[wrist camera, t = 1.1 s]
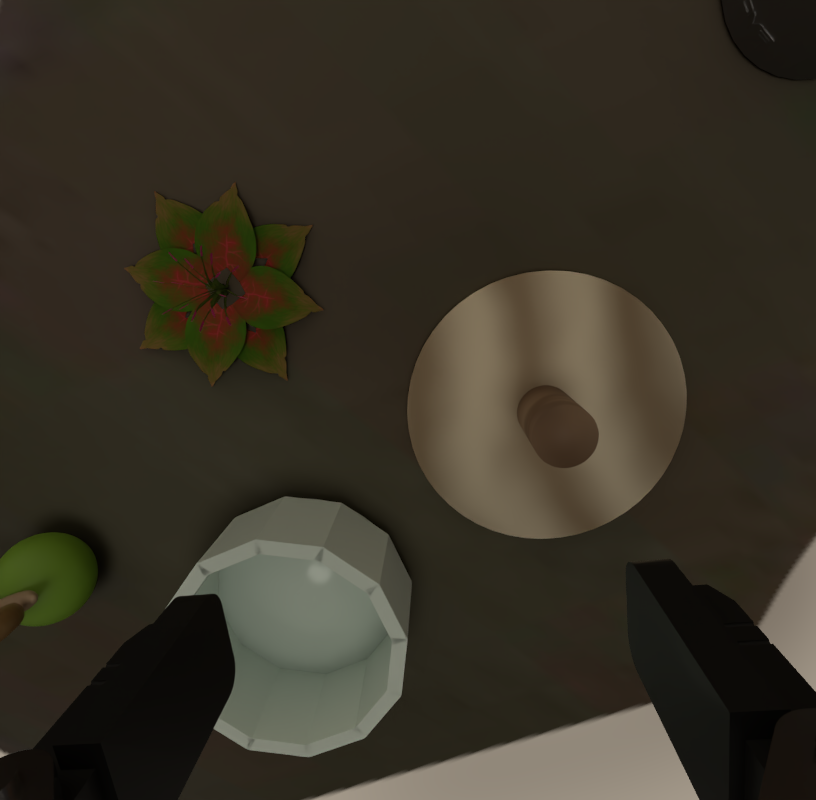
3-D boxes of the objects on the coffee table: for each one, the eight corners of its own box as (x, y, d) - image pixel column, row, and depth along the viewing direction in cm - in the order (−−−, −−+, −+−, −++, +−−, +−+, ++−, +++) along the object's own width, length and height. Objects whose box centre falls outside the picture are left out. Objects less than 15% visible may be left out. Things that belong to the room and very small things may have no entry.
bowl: (357, 461, 33) (339, 504, 26) (442, 633, 35) (444, 710, 29) (177, 537, 35) (119, 595, 28) (269, 696, 37) (235, 782, 31)
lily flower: (311, 407, 33) (292, 427, 28) (118, 366, 33) (69, 380, 28) (345, 204, 30) (331, 191, 26) (136, 159, 30) (85, 138, 25)
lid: (625, 222, 29) (672, 208, 24) (714, 473, 32) (776, 517, 26) (364, 340, 32) (348, 354, 26) (470, 566, 34) (477, 625, 29)
